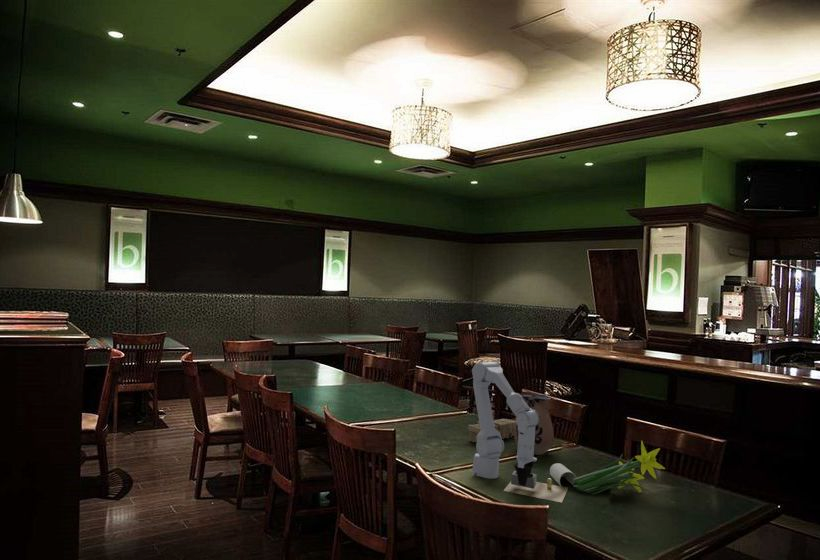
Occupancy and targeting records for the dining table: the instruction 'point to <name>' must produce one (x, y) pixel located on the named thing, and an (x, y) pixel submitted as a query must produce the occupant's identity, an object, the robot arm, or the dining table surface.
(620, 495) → the dining table surface
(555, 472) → the mug
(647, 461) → the daffodil flowers
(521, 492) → the birch board
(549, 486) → the brass knob
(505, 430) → the tan block
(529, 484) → the dark grey open box
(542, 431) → the ceramic pitcher
